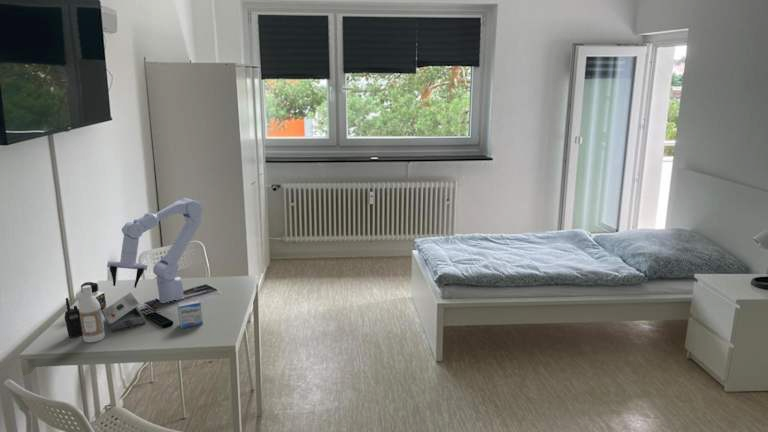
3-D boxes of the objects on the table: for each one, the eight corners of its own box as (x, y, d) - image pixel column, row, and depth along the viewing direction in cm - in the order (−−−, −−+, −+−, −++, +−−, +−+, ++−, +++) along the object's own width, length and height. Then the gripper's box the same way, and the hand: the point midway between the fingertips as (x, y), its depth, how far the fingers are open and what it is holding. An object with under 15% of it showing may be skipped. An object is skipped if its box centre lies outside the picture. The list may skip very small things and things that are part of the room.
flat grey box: (135, 310, 237) (134, 303, 236) (147, 326, 222) (146, 318, 221) (103, 318, 231) (102, 311, 230) (112, 334, 215) (111, 327, 215)
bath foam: (81, 344, 208) (72, 290, 204) (86, 336, 215) (78, 284, 210) (102, 341, 210) (94, 288, 205) (107, 333, 217) (99, 282, 212)
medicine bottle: (95, 315, 234) (90, 286, 231) (79, 314, 235) (74, 285, 233) (107, 308, 241) (102, 280, 238) (91, 307, 242) (87, 279, 239)
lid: (131, 293, 233) (129, 290, 232) (139, 304, 221) (137, 301, 220) (102, 313, 228) (99, 309, 227) (109, 325, 216) (106, 322, 216)
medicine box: (181, 328, 219) (178, 306, 217) (179, 324, 223) (176, 303, 221) (203, 324, 222) (200, 302, 220) (200, 320, 226) (198, 298, 224)
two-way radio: (68, 339, 213) (62, 300, 209) (66, 335, 216) (60, 296, 213) (85, 334, 216) (79, 296, 213) (83, 330, 220) (77, 292, 216)
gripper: (108, 252, 228) (103, 287, 228) (148, 256, 233) (144, 289, 234) (109, 249, 234) (105, 283, 235) (149, 253, 239) (144, 286, 240)
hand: (124, 286), depth 235 cm, fingers open, 7 cm apart
